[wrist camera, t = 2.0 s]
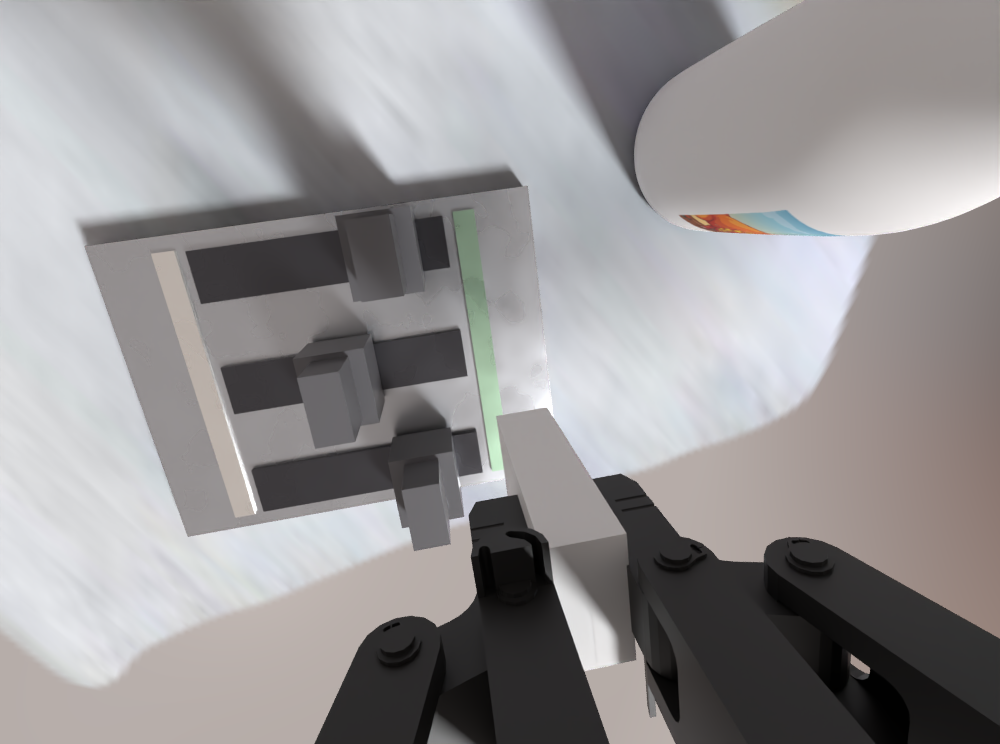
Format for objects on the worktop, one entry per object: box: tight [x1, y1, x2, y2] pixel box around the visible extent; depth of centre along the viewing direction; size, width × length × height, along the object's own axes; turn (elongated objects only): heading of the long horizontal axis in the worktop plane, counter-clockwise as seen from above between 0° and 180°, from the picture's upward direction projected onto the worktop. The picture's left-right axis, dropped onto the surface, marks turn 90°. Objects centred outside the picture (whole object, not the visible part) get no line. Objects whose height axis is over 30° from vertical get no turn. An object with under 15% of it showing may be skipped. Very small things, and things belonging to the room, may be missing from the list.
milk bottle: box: [634, 0, 1000, 236], centre depth 17 cm, size 8×8×20 cm
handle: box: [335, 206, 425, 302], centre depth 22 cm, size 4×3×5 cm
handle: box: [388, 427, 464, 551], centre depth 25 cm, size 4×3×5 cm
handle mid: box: [293, 334, 385, 449], centre depth 23 cm, size 4×3×5 cm
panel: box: [85, 186, 553, 537], centre depth 27 cm, size 15×20×2 cm
